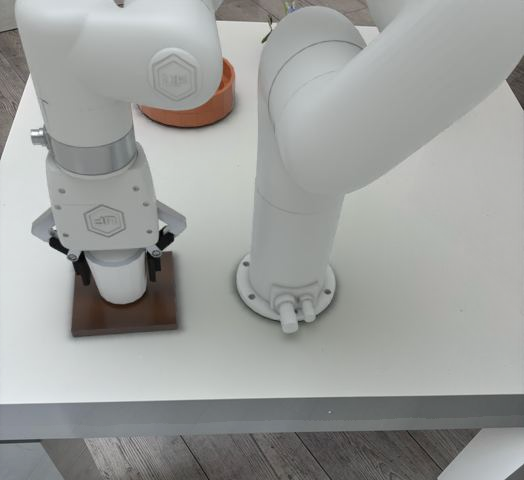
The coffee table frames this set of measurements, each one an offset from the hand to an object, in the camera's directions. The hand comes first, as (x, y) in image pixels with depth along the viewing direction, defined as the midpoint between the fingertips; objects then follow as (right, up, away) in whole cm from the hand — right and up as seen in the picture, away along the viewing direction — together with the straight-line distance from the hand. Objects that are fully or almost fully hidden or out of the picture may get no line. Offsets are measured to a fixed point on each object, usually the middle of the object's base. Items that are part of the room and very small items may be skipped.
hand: (120, 274), depth 64 cm
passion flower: (+22, +45, +38) cm, 63 cm away
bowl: (+4, +33, +28) cm, 43 cm away
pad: (0, -2, +3) cm, 4 cm away
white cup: (0, -1, +2) cm, 2 cm away
